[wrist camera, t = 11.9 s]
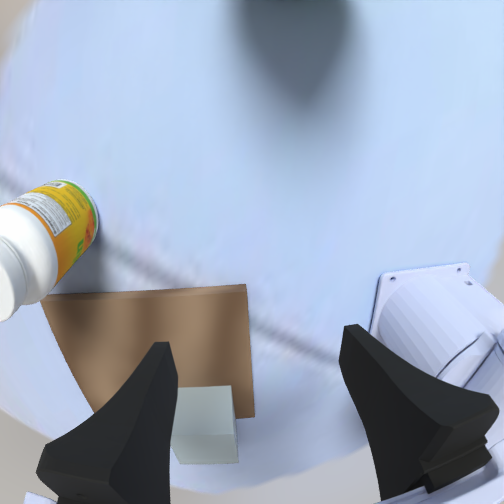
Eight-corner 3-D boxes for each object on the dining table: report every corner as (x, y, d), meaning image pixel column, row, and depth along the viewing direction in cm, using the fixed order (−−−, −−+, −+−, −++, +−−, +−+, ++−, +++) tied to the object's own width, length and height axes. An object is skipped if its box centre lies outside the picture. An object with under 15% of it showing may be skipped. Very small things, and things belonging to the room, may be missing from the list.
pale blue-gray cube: (230, 385, 24) (233, 433, 20) (235, 419, 26) (238, 462, 22) (171, 387, 24) (165, 434, 20) (183, 420, 26) (180, 464, 22)
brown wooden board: (245, 284, 22) (246, 291, 21) (253, 409, 27) (254, 417, 27) (45, 294, 21) (40, 301, 20) (98, 409, 26) (96, 416, 26)
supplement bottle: (73, 266, 20) (7, 352, 11) (25, 217, 18) (-61, 279, 9) (115, 216, 19) (44, 293, 10) (61, 161, 17) (-37, 202, 8)
